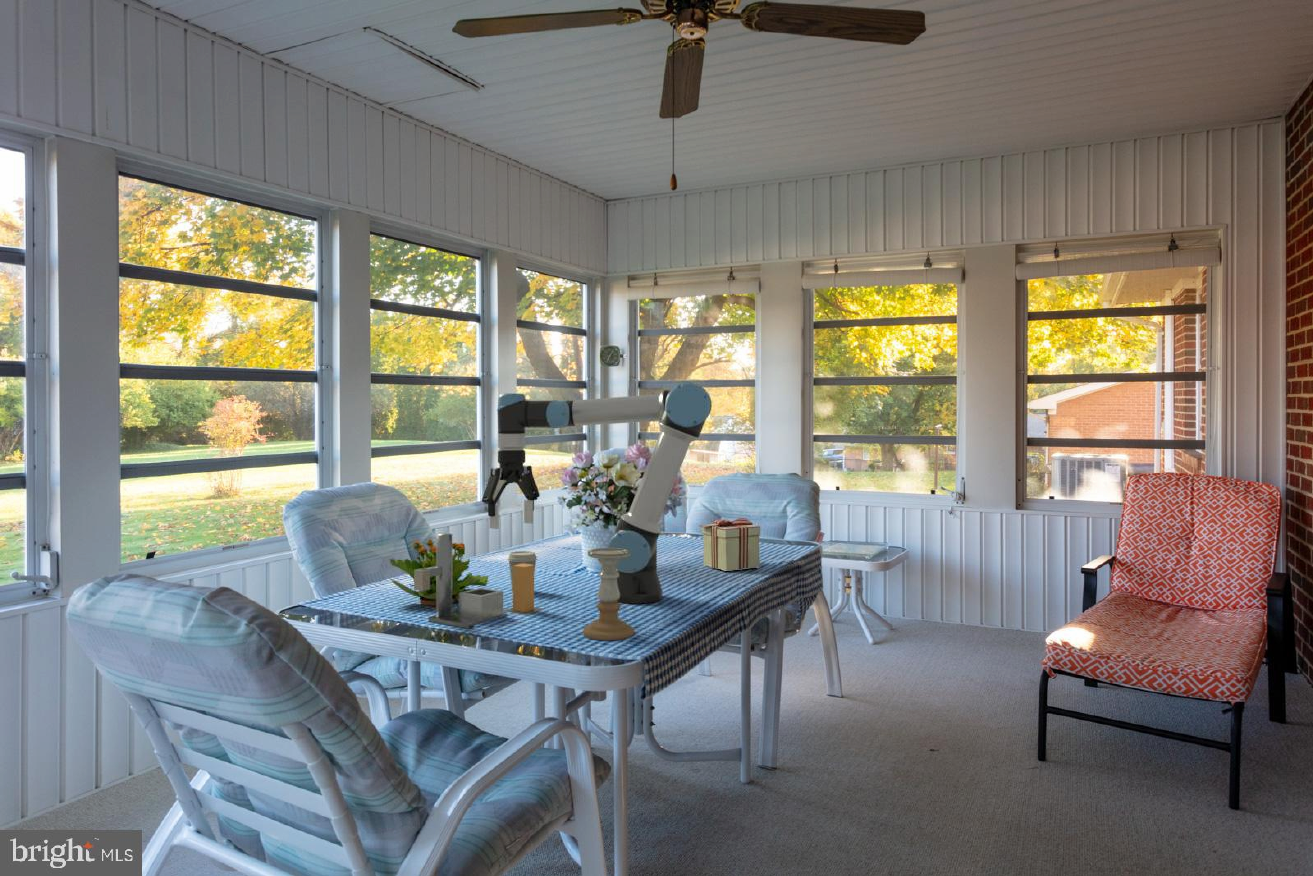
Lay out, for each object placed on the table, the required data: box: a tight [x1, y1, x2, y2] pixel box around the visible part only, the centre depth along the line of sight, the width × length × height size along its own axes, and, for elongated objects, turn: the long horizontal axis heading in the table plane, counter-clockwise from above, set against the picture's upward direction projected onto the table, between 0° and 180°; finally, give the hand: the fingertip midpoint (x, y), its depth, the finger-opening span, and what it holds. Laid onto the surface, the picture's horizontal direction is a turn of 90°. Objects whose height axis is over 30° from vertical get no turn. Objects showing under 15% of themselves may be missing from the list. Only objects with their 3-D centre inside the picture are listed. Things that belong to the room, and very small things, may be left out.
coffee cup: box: [507, 550, 538, 593], centre depth 246 cm, size 9×8×12 cm
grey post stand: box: [413, 532, 508, 630], centre depth 212 cm, size 14×19×22 cm
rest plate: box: [503, 606, 544, 616], centre depth 223 cm, size 8×8×1 cm
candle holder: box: [582, 547, 635, 641], centre depth 201 cm, size 12×12×20 cm
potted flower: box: [389, 538, 489, 607], centre depth 233 cm, size 25×24×18 cm
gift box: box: [699, 517, 761, 572], centre depth 292 cm, size 17×18×17 cm
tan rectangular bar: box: [512, 564, 535, 612], centre depth 223 cm, size 4×4×12 cm
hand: (511, 525), depth 230 cm, fingers open, 13 cm apart
